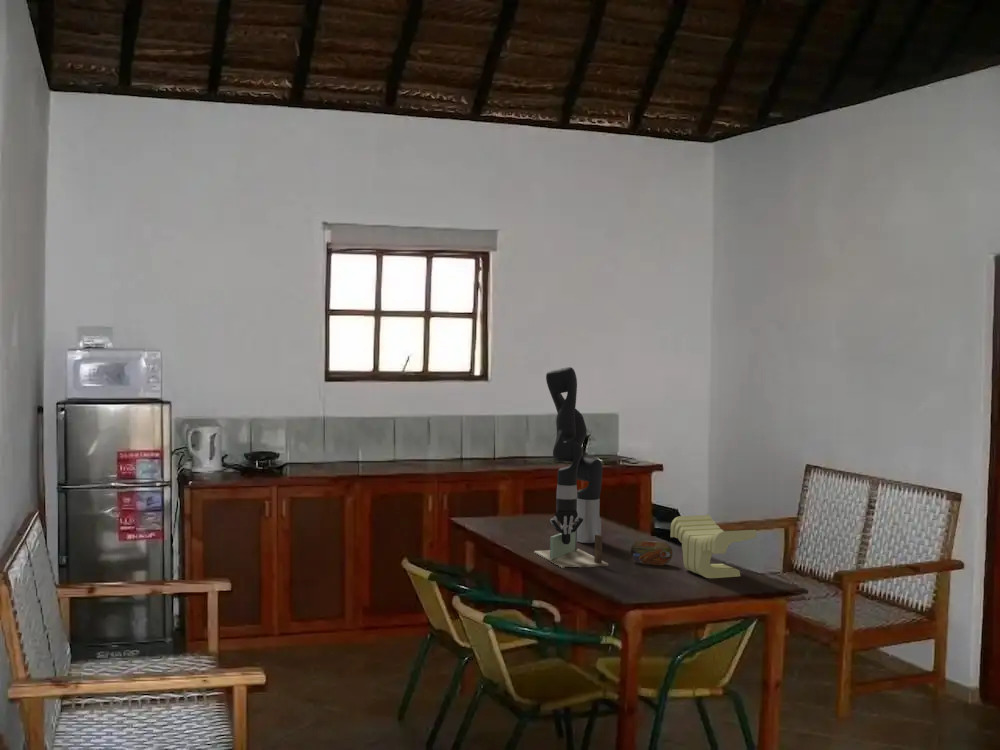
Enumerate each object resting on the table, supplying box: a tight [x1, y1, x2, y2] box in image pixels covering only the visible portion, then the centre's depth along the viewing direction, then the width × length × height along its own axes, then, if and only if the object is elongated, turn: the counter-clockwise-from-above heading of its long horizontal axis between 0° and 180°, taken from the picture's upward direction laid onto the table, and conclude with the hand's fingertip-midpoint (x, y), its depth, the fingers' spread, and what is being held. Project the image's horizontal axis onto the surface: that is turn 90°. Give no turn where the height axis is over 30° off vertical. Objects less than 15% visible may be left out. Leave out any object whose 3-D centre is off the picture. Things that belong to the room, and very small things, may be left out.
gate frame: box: [533, 522, 609, 569], centre depth 401 cm, size 18×27×11 cm, turn 19°
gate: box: [549, 530, 578, 559], centre depth 404 cm, size 2×21×8 cm, turn 151°
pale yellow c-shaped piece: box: [669, 514, 757, 579], centre depth 383 cm, size 30×16×18 cm, turn 20°
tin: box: [630, 540, 673, 566], centre depth 397 cm, size 15×3×8 cm, turn 70°
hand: (565, 543), depth 399 cm, fingers closed
